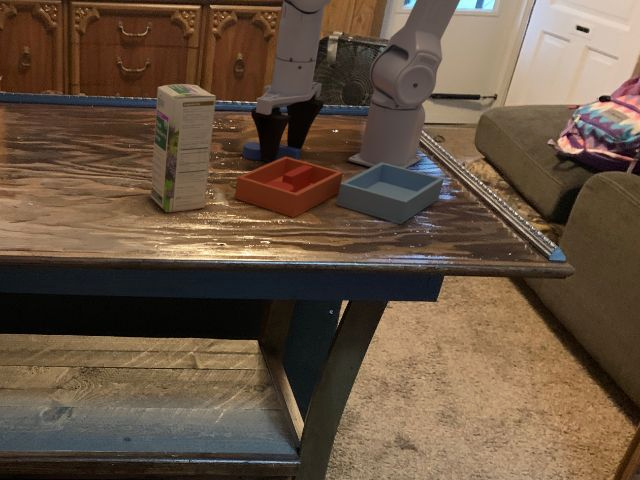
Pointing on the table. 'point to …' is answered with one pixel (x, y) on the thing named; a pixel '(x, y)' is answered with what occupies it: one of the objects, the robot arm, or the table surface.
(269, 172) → the red bin
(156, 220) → the table surface
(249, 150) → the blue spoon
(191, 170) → the syrup box
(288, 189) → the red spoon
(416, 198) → the blue bin
